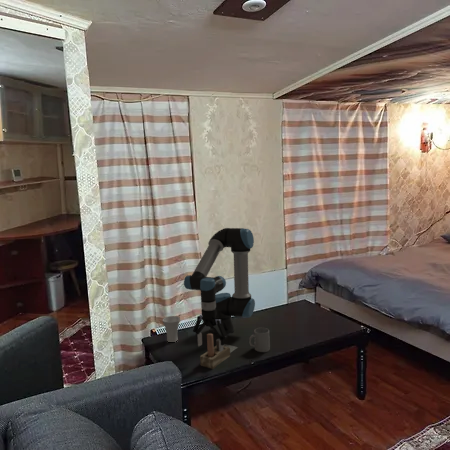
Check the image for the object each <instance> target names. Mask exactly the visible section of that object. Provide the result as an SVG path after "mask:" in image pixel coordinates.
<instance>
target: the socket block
mask: <svg viewBox="0 0 450 450" xmlns="http://www.w3.org/2000/svg"><path fill="white" fill-rule="evenodd" d="M219 339H220V338H217V339H216V340H215V341H216V342H215V343H216V345H215V346H214V357H212V358H211V357H208V350H207V351H206V352H205V353H203V354H200V356H199V360H200V366H201V367H204V368H208V369H212V370H214V369H215V368H217V366H218V365H220V364H222V362H224V361H225V360H227V359H228V358H230V357H231V353H230V348H229V347H225V346H223V349H224V350H223V351H221V352H219Z"/></svg>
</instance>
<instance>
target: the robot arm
mask: <svg viewBox="0 0 450 450" xmlns="http://www.w3.org/2000/svg"><path fill="white" fill-rule="evenodd" d="M207 243H208V246H207V248H206V250H205V251H204V252H203V253H204V254H203V255H202V256H201V259H200V260H199V262H198V264H197V265H196V267H195V269H194V271H193V273H192V274H191V275H186V276H185V277H184V279H183V286H184V287H185V289H187V290H191V291H199V292H200V305H201V314H199V315H198V316H197V317H196V322H195V324H194V326H193V329H192V332H193V333H195V335H196V340H197V347H200V346H202V345H203V334H202V332H201V331H202V330H203V329H204V328H205V327H208V328H210V334H213V335H217V337H218V339H219V352H221V351H223V350H224V349H223V345H224V344H225V340H226V339H227V338H228V337H229V336H228V335H229V334H232V333H234V332H235V324H234V322H233V319H232V317H236V318H237V317H238V318H245V319H246V318H248V319H249V318H251V316H252V315H253V313H254V311H255V307H256V302H255V299H254V298H252V294H251V293H250V291H249V285H250V284H249V253H250V252H251V249H253V248H254V244H255V241H254V235H253V232H252V231H251V229H249V228H244V227H239V228H238V227H236V228H234V227H225V228H222V229H220V230H218V231H216V232H215V233H214V234H213V235H212V236H211V238H210V239H209V241H208V242H207ZM225 248H230V251H231V253H233V277H234V278H233V280H234V281H233V284H234V287H233V288H234V293H233V294H232V295H231V293H229V292H222V293H219V292H221V291H222V290H223V289H225V288H226V286H227V285H226V284H227V282H226V279H225V278H224V277H223V275H217V276H215V277H210V276H208V275H209V273H210V270H211V269H212V267H213V266H214V264H215V262H216V259H217V258H218V256H219V254H220V252H222V251H223V250H224V249H225Z"/></svg>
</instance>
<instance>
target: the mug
mask: <svg viewBox="0 0 450 450" xmlns="http://www.w3.org/2000/svg"><path fill="white" fill-rule="evenodd" d="M253 331H254V332H253V334H250V336H249V340H248V343H249V345H250V347H252V348H254V350H255V352H256V351H257V352H258V353H268V352H269V351H271V341H270V339H271V338H270V329H269V328H266V327H257V328H255V329H254V330H253ZM253 338H254V341H253V342H254V343H252V339H253Z"/></svg>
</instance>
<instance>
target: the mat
mask: <svg viewBox="0 0 450 450" xmlns="http://www.w3.org/2000/svg"><path fill="white" fill-rule="evenodd" d="M223 346H225V347H229V348H230V354H231V353H232V352H233V351H235V350H236V349H238V348H239V347H237V346H234V345H230V344H225V343H224V345H223Z"/></svg>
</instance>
